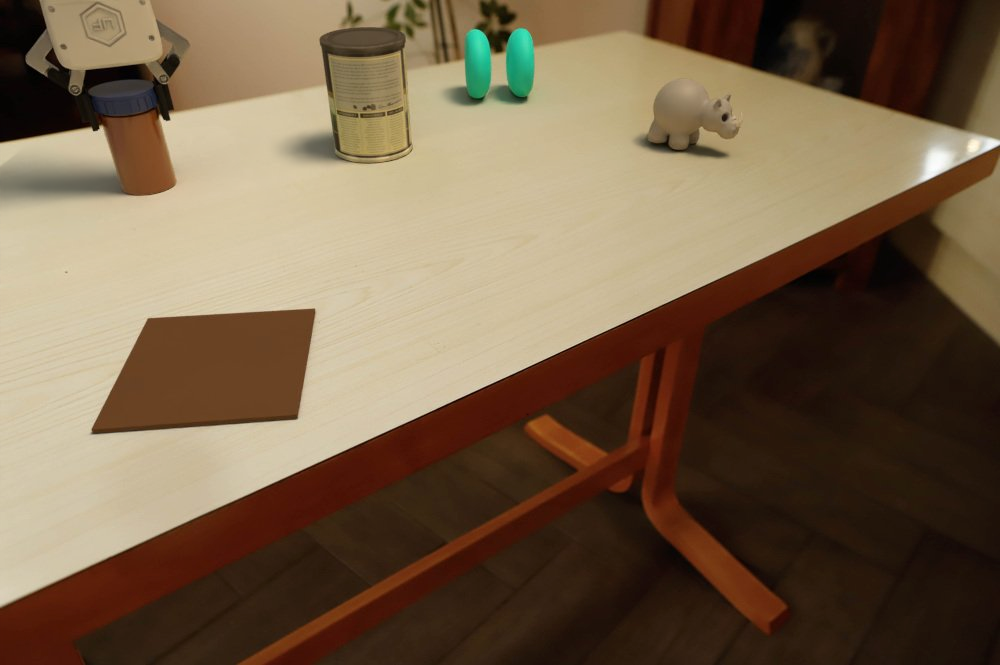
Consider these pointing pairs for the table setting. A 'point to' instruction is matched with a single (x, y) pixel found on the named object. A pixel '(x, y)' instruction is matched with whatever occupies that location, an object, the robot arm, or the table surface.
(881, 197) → the table surface
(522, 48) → the donuts
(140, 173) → the jam jar
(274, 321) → the cork mat
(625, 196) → the table surface
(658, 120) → the toy rhinoceros
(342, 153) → the coffee can
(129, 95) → the jar lid
